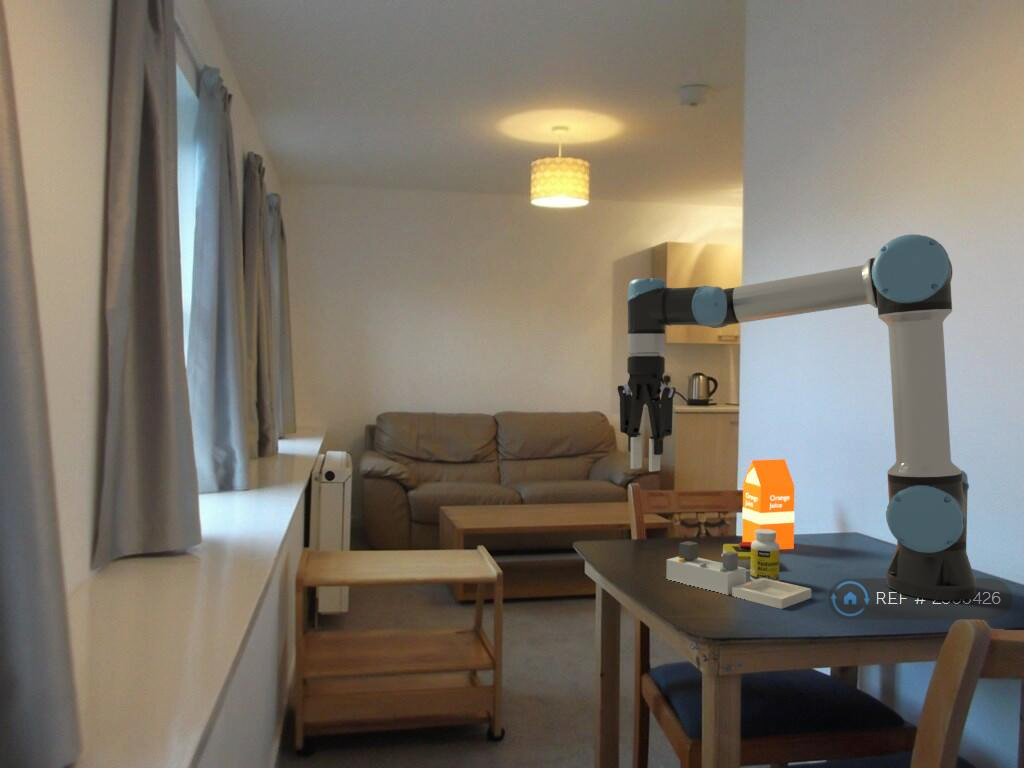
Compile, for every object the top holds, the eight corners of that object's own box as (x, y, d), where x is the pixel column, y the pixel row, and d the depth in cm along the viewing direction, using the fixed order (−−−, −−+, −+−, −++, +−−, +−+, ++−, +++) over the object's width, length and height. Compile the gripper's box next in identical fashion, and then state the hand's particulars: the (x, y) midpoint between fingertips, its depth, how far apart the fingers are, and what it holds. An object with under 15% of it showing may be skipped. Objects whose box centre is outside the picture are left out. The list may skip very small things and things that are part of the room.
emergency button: (762, 537, 186) (781, 553, 171) (762, 557, 186) (780, 574, 171) (720, 536, 186) (734, 552, 171) (719, 556, 186) (734, 574, 171)
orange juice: (794, 548, 192) (795, 461, 191) (759, 551, 190) (760, 462, 189) (774, 541, 199) (776, 457, 199) (741, 543, 197) (742, 458, 196)
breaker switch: (697, 558, 165) (698, 543, 165) (689, 560, 163) (689, 545, 163) (687, 556, 167) (688, 541, 166) (679, 558, 165) (679, 543, 165)
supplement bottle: (754, 584, 162) (755, 533, 162) (746, 577, 167) (747, 528, 167) (783, 584, 162) (783, 533, 162) (774, 577, 167) (774, 528, 167)
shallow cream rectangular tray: (811, 597, 153) (811, 588, 153) (781, 608, 146) (781, 599, 146) (762, 586, 160) (762, 577, 160) (732, 596, 154) (732, 587, 154)
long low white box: (745, 589, 159) (746, 552, 158) (727, 595, 155) (727, 557, 154) (685, 574, 169) (685, 539, 169) (666, 579, 165) (666, 544, 165)
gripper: (692, 355, 168) (690, 472, 168) (626, 355, 180) (625, 463, 181) (668, 355, 163) (667, 475, 163) (602, 355, 175) (601, 466, 176)
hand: (645, 469), depth 172 cm, fingers open, 4 cm apart
